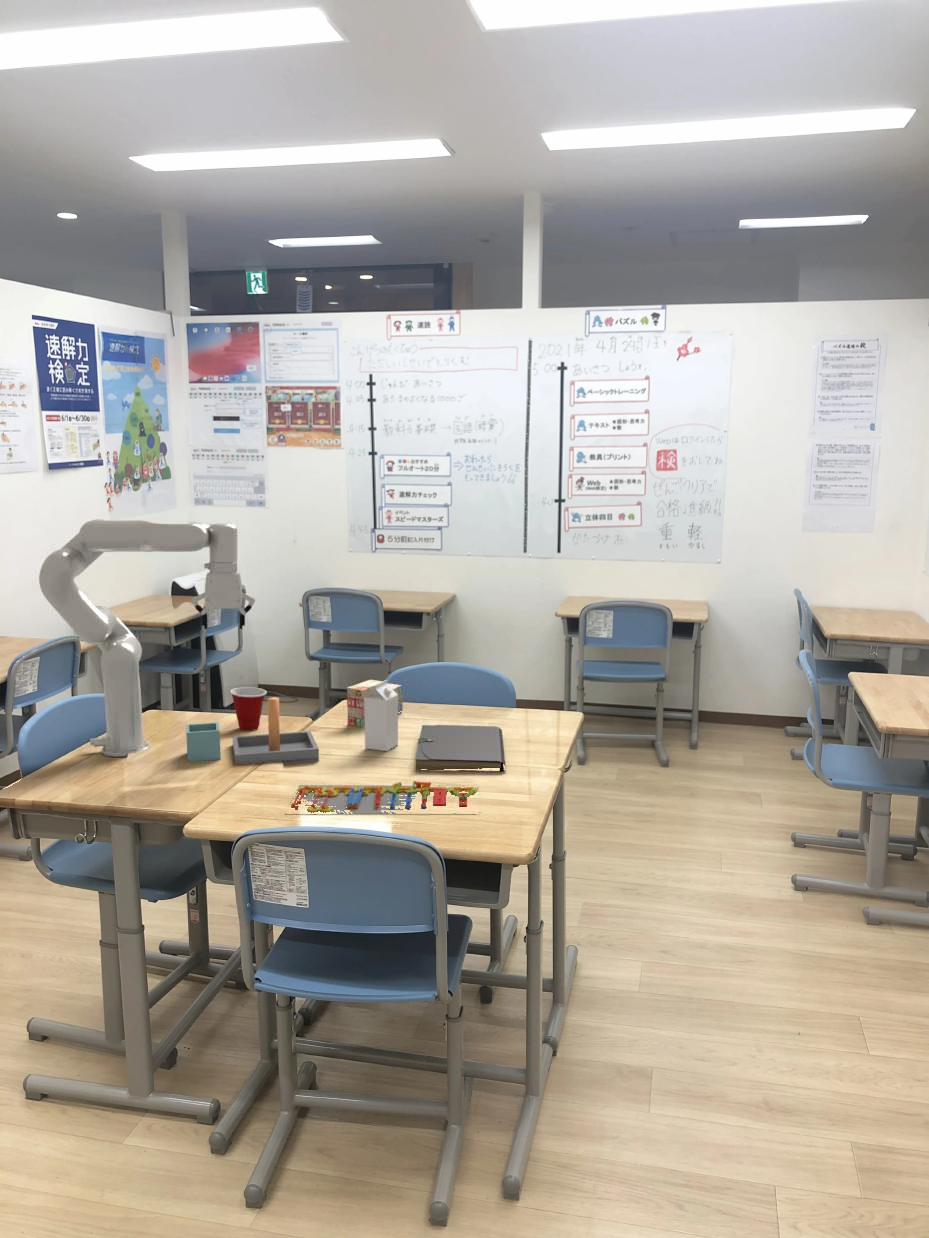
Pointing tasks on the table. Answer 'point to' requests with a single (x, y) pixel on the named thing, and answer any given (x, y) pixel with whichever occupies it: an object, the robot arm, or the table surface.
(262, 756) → the tray
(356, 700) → the stack of blocks
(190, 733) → the light blue open box
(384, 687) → the milk carton
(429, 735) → the file folder
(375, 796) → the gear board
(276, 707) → the dowel pin
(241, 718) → the plastic cup
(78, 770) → the table surface
